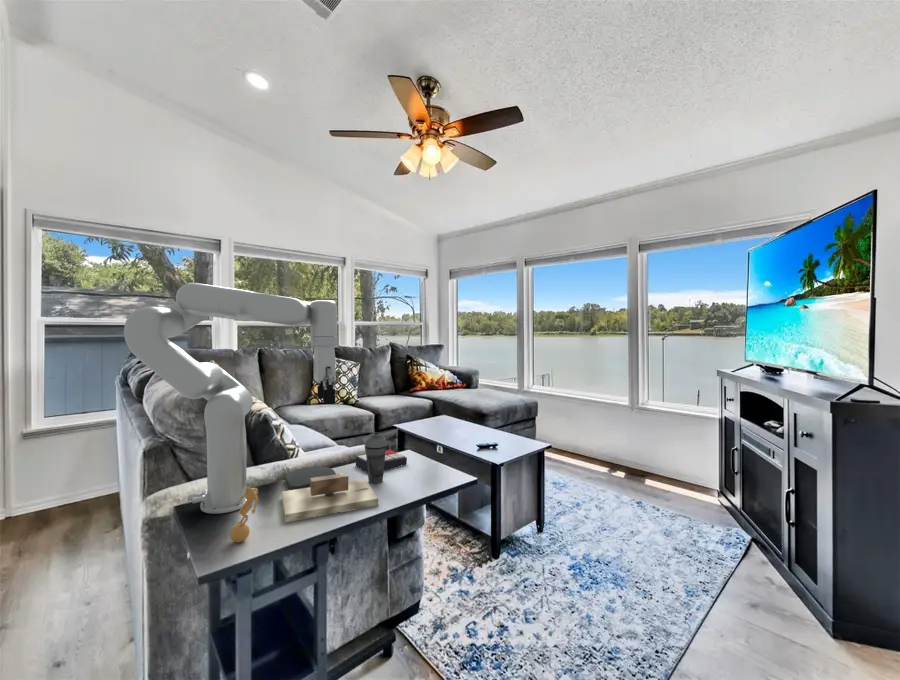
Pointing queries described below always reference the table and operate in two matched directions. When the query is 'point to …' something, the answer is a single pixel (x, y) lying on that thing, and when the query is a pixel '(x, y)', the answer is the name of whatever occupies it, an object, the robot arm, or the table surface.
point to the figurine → (244, 516)
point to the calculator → (391, 460)
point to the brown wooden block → (329, 484)
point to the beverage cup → (375, 456)
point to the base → (327, 501)
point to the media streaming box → (305, 476)
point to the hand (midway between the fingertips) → (326, 401)
